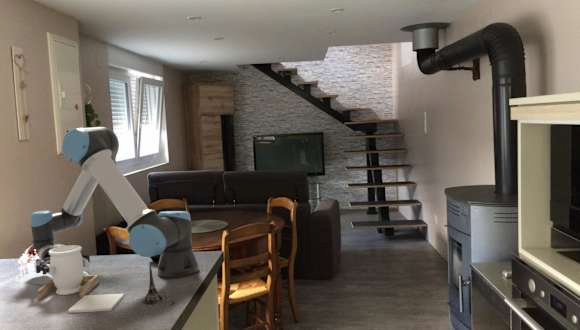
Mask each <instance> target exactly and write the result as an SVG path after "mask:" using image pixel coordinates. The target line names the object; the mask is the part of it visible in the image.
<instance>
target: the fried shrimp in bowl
mask: <svg viewBox="0 0 580 330" xmlns="http://www.w3.org/2000/svg"><path fill="white" fill-rule="evenodd" d="M160 256H161V254H159V255H155V256H152V257H149V258H150V259H151V261H152V262H153V263H156V264H159V260H160Z"/></svg>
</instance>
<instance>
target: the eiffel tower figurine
mask: <svg viewBox="0 0 580 330" xmlns="http://www.w3.org/2000/svg"><path fill="white" fill-rule="evenodd" d="M148 268H149V285H148V290H147V293H146V294H145V295H146V296H145V295H143V296H138V297H134V298H133V299H134V300H138V299H144V300H143V302H142V303H141V306H158V305H159V304H161V303H162V302H163V301H169V302H171V303H170V304H169V306H170V307H171V306H172V307H174V306H177V305H178V304H177V303H176V302H175V301H174V300H172V298H171V297H170V296H168V294H160V293H159V291H158V290H157V288H156V285H155V282H154V277H153V269H152V265H151V264H149V266H148Z"/></svg>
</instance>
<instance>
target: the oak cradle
mask: <svg viewBox="0 0 580 330" xmlns="http://www.w3.org/2000/svg"><path fill="white" fill-rule="evenodd" d="M100 281H101V280H100V275H99V274H85V275H84V274H83V278H82V282H81V284H80V285H81V286H82V287H80V288H79V292H78V293H79V298H83V297H84V296H85V295H87V294H88V293H90V292H91V291H92V290H93V289H94V288H96V287H97V286H98V285H99V284H100ZM54 290H57V288H56V286H55V285H54V282H53V279H52V280H50V281H49V282H47V283H45V284H44V285H42V287H40V288H39V289H37V290H36V296H37V300H42V299H44V297H46V296H47V295H49V294H50V293H52V292H53V291H54Z"/></svg>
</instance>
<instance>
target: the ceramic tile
mask: <svg viewBox="0 0 580 330" xmlns="http://www.w3.org/2000/svg"><path fill="white" fill-rule="evenodd" d="M124 297H125V293H109V294H108V293H107V294H106V293H105V294H88V295H87V294H86V295H85V296H84V297H80V299H79V300H78V301H76V303H74V304H73V305H72V306H71V307H70V308H69V309H68V310H67V313H68V314H70V313H71V314H72V313H73V314H74V313H94V312H111V311H112V310H113V309H114V308H115V307H116V306H117V305H118V304H119V302H121V300H123V298H124Z"/></svg>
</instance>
